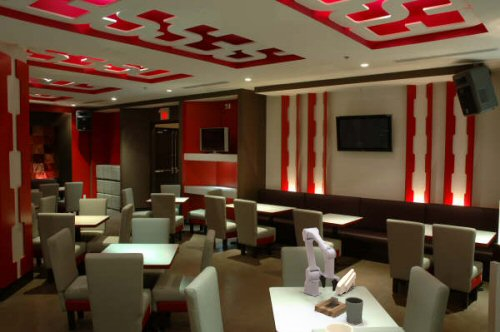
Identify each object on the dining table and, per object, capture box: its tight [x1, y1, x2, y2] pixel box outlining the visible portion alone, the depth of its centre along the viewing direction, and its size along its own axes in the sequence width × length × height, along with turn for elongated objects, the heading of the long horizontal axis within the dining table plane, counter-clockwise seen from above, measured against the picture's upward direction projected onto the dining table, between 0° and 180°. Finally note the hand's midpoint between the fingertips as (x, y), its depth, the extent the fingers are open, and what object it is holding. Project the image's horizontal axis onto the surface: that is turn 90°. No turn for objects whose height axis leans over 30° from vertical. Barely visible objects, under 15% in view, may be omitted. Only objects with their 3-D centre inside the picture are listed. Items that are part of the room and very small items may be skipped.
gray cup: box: [344, 296, 364, 325], centre depth 237 cm, size 10×10×12 cm
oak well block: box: [314, 298, 346, 318], centre depth 251 cm, size 14×16×3 cm
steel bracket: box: [327, 296, 339, 309], centre depth 251 cm, size 4×8×6 cm, turn 135°
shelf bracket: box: [335, 268, 357, 296], centre depth 284 cm, size 6×25×13 cm, turn 143°
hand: (328, 289), depth 260 cm, fingers open, 7 cm apart
